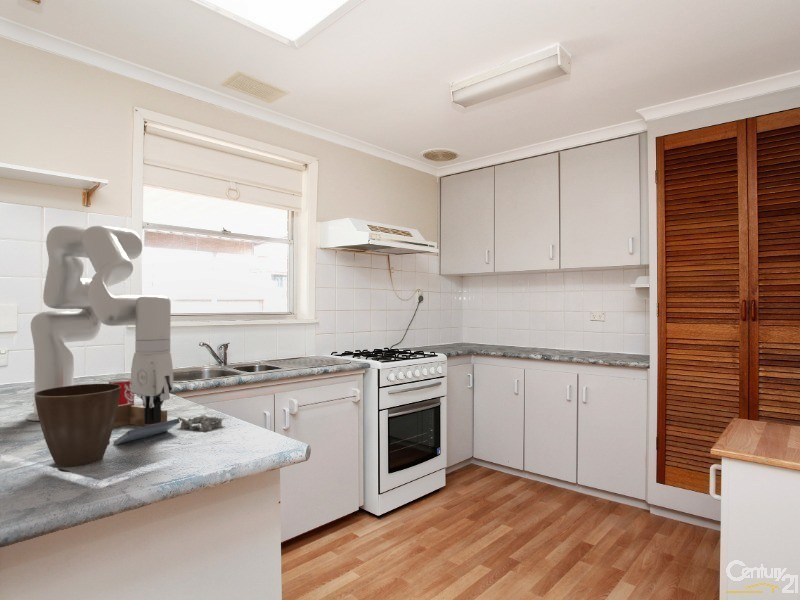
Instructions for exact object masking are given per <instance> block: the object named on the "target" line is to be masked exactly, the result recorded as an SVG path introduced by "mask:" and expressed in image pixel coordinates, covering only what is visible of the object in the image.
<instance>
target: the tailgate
mask: <svg viewBox="0 0 800 600" xmlns="http://www.w3.org/2000/svg"><path fill="white" fill-rule="evenodd" d="M178 424H181V422H180V419H179V417H178V418H175V419H171V420H167V421H166V422H162V423H158V424H154V425H150V426H146V427H145V426H141V427H138V428H135V429H129V430H128V431H126V432H125V433H123V434H122V435H121V436H120V437H118V438H117V439H116V440H114V441H113V444H114V445H119V444H124V443H127V442H131V441H135V440H138V439H139V440H140V439H142V438H147V437H150V436H153V435H158V434H162V433H165V432H167V431H169V430H171V429H172V428H173V427H175V426H177V425H178Z"/></svg>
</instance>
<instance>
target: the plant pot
mask: <svg viewBox="0 0 800 600" xmlns="http://www.w3.org/2000/svg"><path fill="white" fill-rule="evenodd" d="M120 391H121V386H120V385H117V384H108V383H87V384H86V383H85V384H76V385H75V384H73V386H64V387H57V388H51V389H46V390H42V391H39V392H36V393H35V394H34V393H33V396H34V395H35V402H36V407H37V413H38V417H39V421H38V422H39V424H40V429H41V432H42V435H43V436H44V437H43V438H44V441H45V443H46V446H47V448H48V451H49V453H50V456H51V458H52V459H53V462H54V464H55V466H56V467H57V470H58V471H60V472H63V473H71V471H70V470H66V469H63V468H76V467H82V466H87V465H91V464H94V463H97V462H99V461H101V460H103V458H104V456H105V454H106V451H107V448H108V445H109V444H108V443H109V440H110V441H111V435H112V433H113V429H114V427H113V426H114V422H115V418H116V414H117V409H118V404H119V398H120Z"/></svg>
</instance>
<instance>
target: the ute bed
mask: <svg viewBox="0 0 800 600" xmlns="http://www.w3.org/2000/svg"><path fill="white" fill-rule="evenodd" d="M144 414H145V407H144V406H143V405H142V406H141V405H135V404H134V405H133V403H129V404H123V405H118V409H117V414H116V418H115V422H114V426H113V428H118V427H121V426H125V425H136V426H140V427H146V426H150V425H149V424H145V423H144ZM166 421H168V410H167V409H162V408H161V422H159V423H162V422H166ZM155 424H158V423H155ZM151 425H154V424H151ZM110 441H111V439H110V440H109V443H108V445H110Z"/></svg>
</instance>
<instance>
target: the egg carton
mask: <svg viewBox="0 0 800 600" xmlns="http://www.w3.org/2000/svg"><path fill="white" fill-rule="evenodd" d="M178 418H179V421H181V422H180V429H185V428H186V429H188V428H189V430H192V431H193V430H198V431H200V432H204V431H212V430H213V429H214V428H221V427H222V424H223V423H222V422H223V420H224V419H225V417H223V418H222V417H220V418H219V417H216V416H214V417H213V416H207V415H205V414H202V415H199V416H194V417H193V418H192V419H191V418H188V420H186V419H184V418H182V417H178ZM194 423H198V424H197V425H196V424H194ZM199 423H200V424H199ZM193 424H194V425H193Z"/></svg>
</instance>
